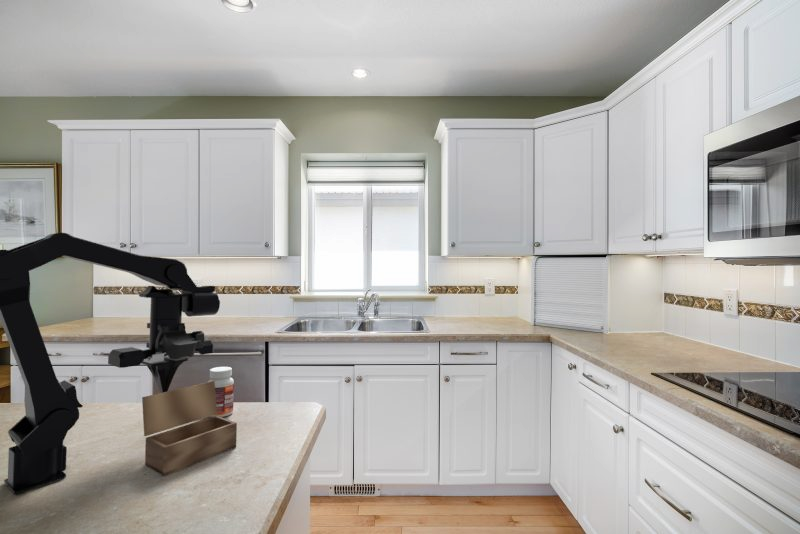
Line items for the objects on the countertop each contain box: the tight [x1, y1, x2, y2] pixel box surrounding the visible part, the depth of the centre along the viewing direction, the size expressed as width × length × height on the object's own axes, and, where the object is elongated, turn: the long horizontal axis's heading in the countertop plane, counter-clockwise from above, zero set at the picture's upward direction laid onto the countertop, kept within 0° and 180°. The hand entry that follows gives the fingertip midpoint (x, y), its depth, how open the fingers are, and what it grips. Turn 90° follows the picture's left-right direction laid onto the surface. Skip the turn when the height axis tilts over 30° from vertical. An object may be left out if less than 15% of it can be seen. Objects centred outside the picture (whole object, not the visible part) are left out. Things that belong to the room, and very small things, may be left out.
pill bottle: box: [207, 366, 235, 418], centre depth 99 cm, size 6×6×11 cm
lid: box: [141, 381, 217, 437], centre depth 79 cm, size 14×7×1 cm
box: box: [144, 416, 238, 477], centre depth 76 cm, size 14×7×5 cm, turn 147°
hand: (163, 392), depth 82 cm, fingers closed
